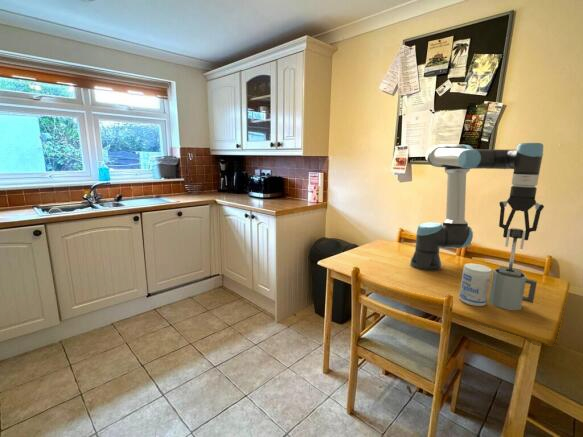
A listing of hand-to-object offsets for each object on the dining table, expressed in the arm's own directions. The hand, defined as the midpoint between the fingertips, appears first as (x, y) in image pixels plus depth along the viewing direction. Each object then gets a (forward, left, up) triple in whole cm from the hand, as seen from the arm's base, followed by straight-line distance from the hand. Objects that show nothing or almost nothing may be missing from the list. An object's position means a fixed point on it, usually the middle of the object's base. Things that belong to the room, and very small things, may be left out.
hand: (513, 246), depth 114 cm
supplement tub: (-10, -6, -24) cm, 27 cm away
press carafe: (+2, 0, -24) cm, 24 cm away
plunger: (0, 0, -14) cm, 14 cm away
